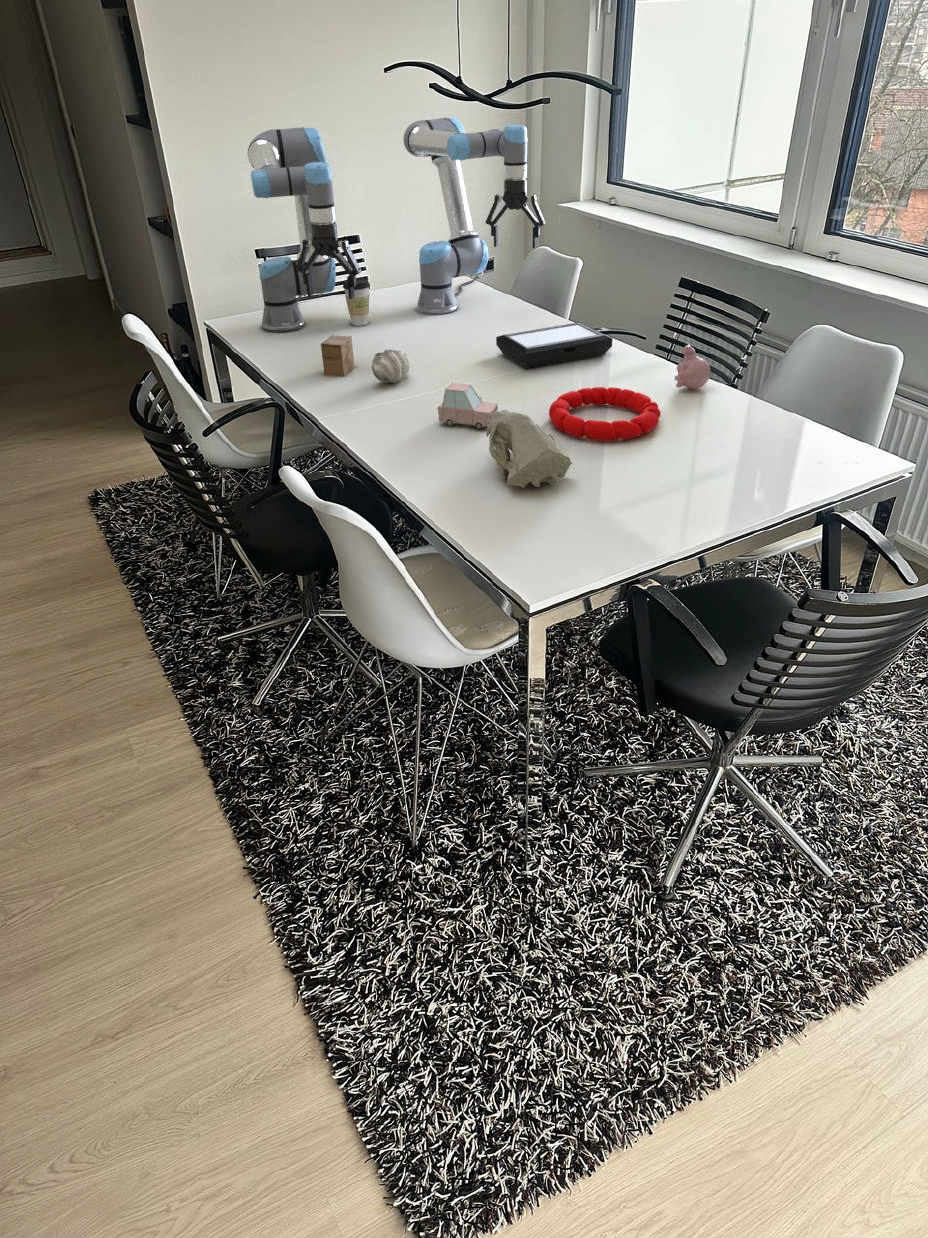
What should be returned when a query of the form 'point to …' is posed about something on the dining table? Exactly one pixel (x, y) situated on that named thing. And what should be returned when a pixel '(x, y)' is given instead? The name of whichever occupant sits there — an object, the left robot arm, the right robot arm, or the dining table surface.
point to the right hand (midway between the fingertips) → (515, 246)
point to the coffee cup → (358, 302)
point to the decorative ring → (604, 428)
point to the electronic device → (553, 344)
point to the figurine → (692, 370)
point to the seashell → (390, 366)
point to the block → (337, 355)
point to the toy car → (465, 406)
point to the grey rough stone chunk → (525, 450)
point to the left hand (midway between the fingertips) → (331, 296)
